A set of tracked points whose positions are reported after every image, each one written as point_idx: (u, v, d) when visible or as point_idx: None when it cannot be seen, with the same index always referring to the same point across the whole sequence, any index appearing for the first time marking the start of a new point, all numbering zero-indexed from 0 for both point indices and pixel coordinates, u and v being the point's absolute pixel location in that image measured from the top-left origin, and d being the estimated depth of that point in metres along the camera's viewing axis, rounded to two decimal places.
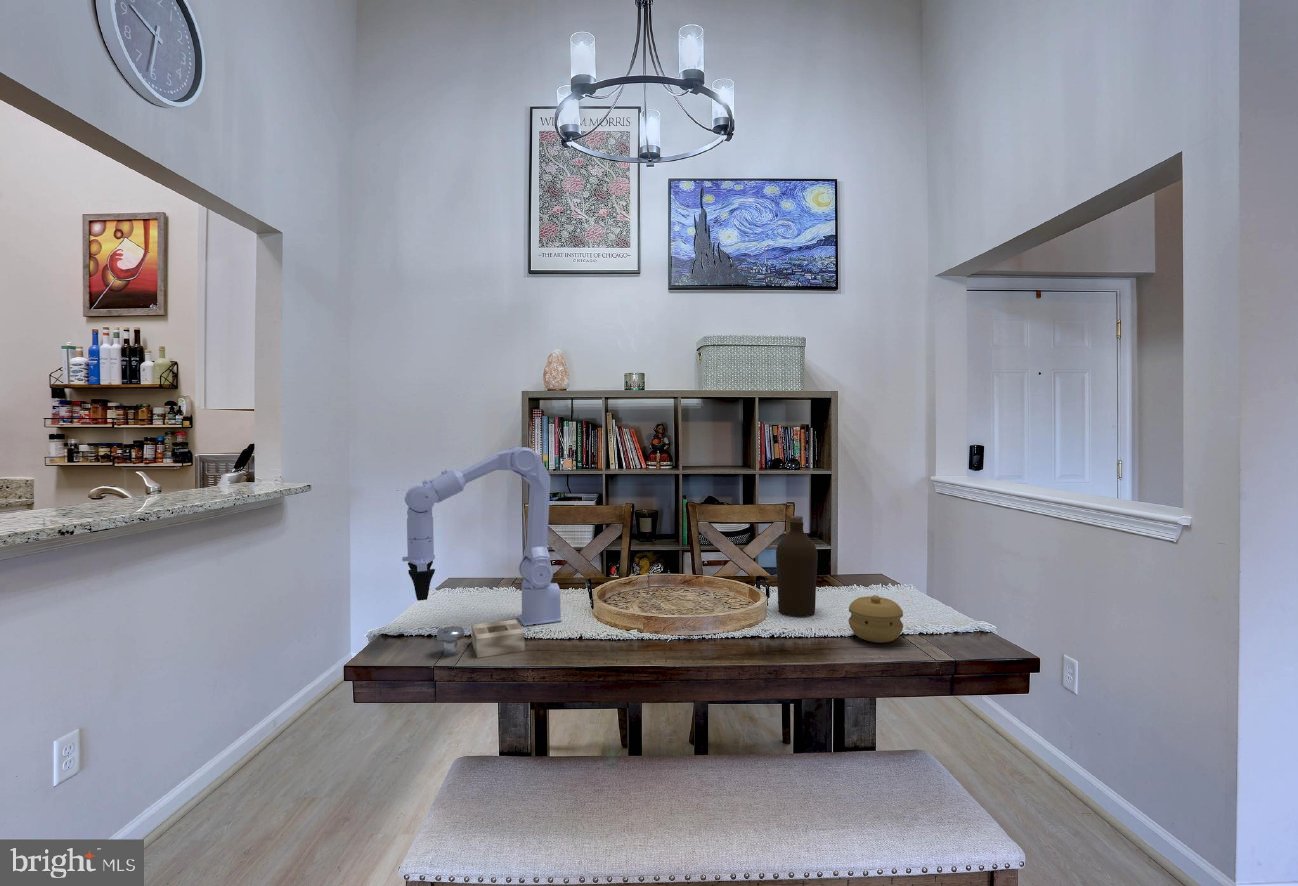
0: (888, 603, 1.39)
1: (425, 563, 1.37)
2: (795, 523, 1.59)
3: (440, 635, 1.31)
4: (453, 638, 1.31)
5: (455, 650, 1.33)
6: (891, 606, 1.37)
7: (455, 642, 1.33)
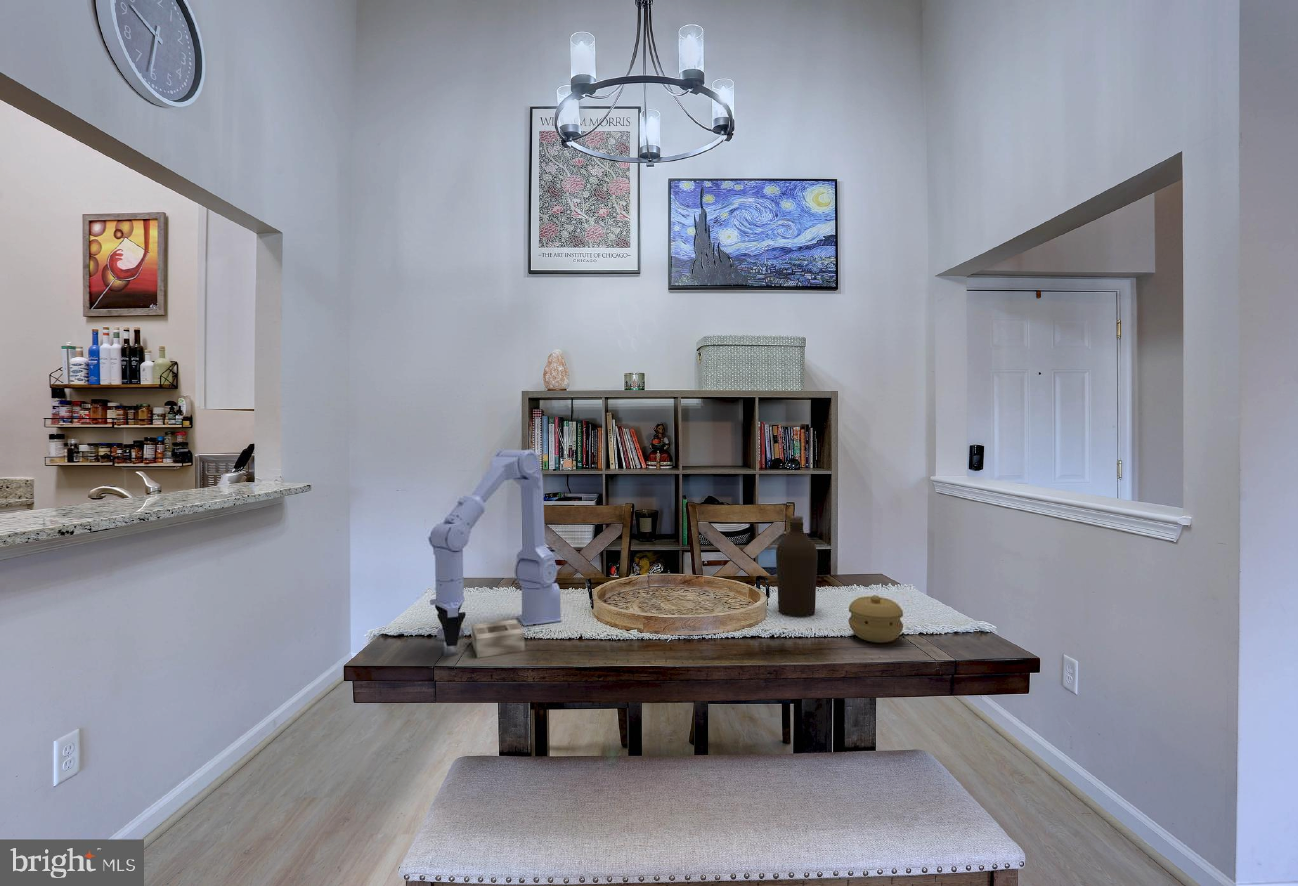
0: (888, 603, 1.39)
1: (456, 608, 1.27)
2: (795, 523, 1.59)
3: (440, 635, 1.31)
4: None
5: (455, 650, 1.33)
6: (891, 606, 1.37)
7: None
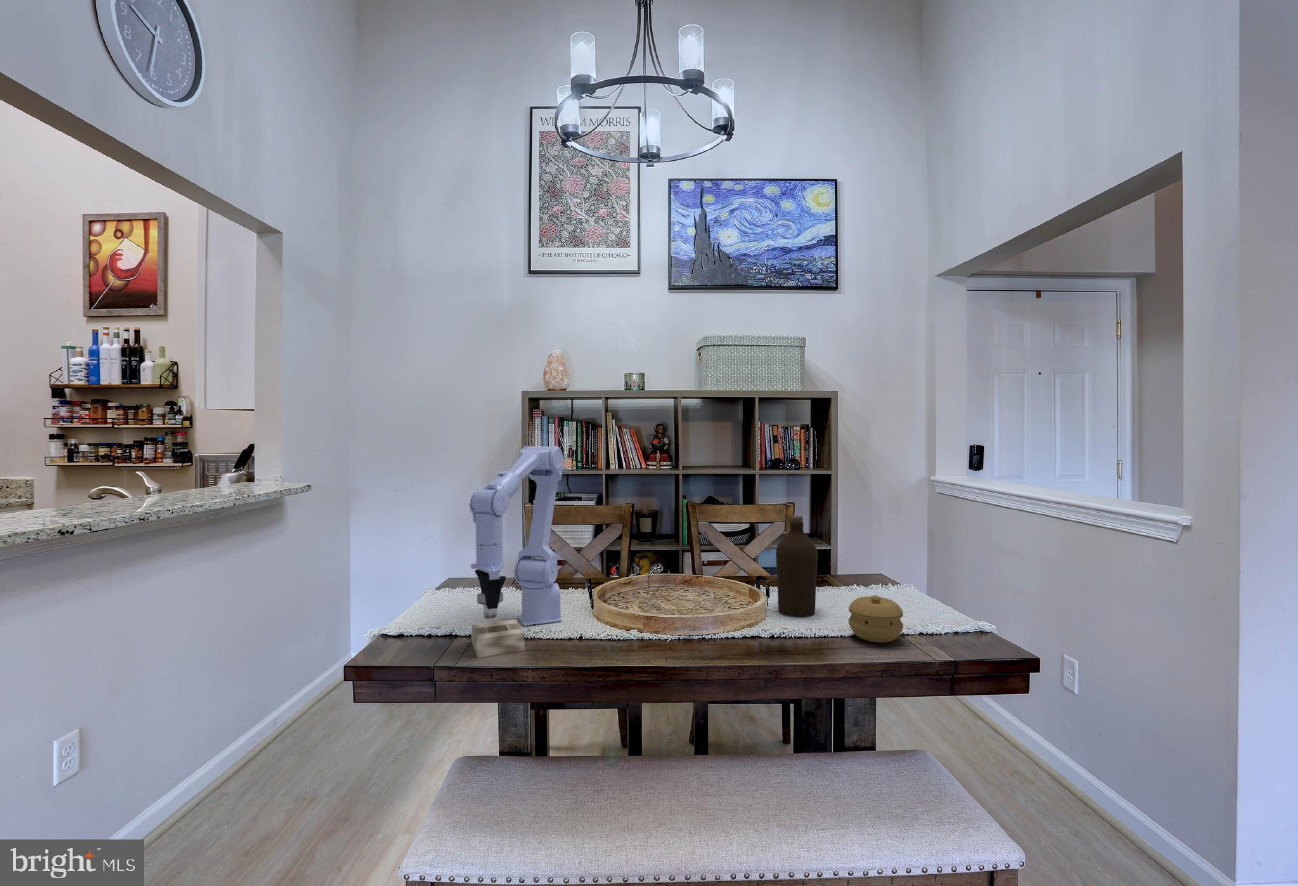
0: (888, 603, 1.39)
1: (498, 571, 1.30)
2: (795, 523, 1.59)
3: (481, 598, 1.34)
4: None
5: (495, 613, 1.36)
6: (891, 606, 1.37)
7: None
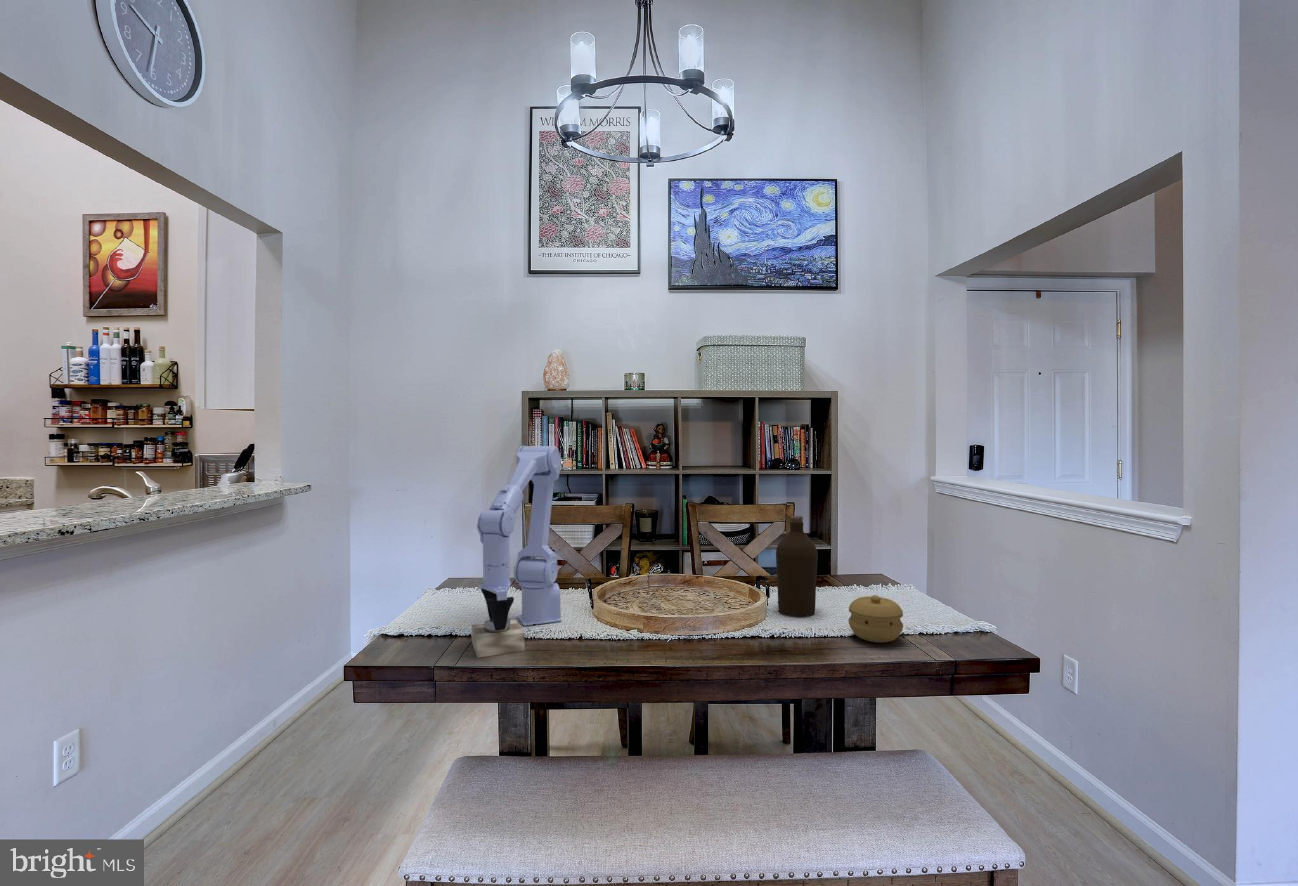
0: (888, 603, 1.40)
1: (505, 592, 1.31)
2: (795, 523, 1.59)
3: (488, 626, 1.35)
4: None
5: None
6: (891, 606, 1.37)
7: None
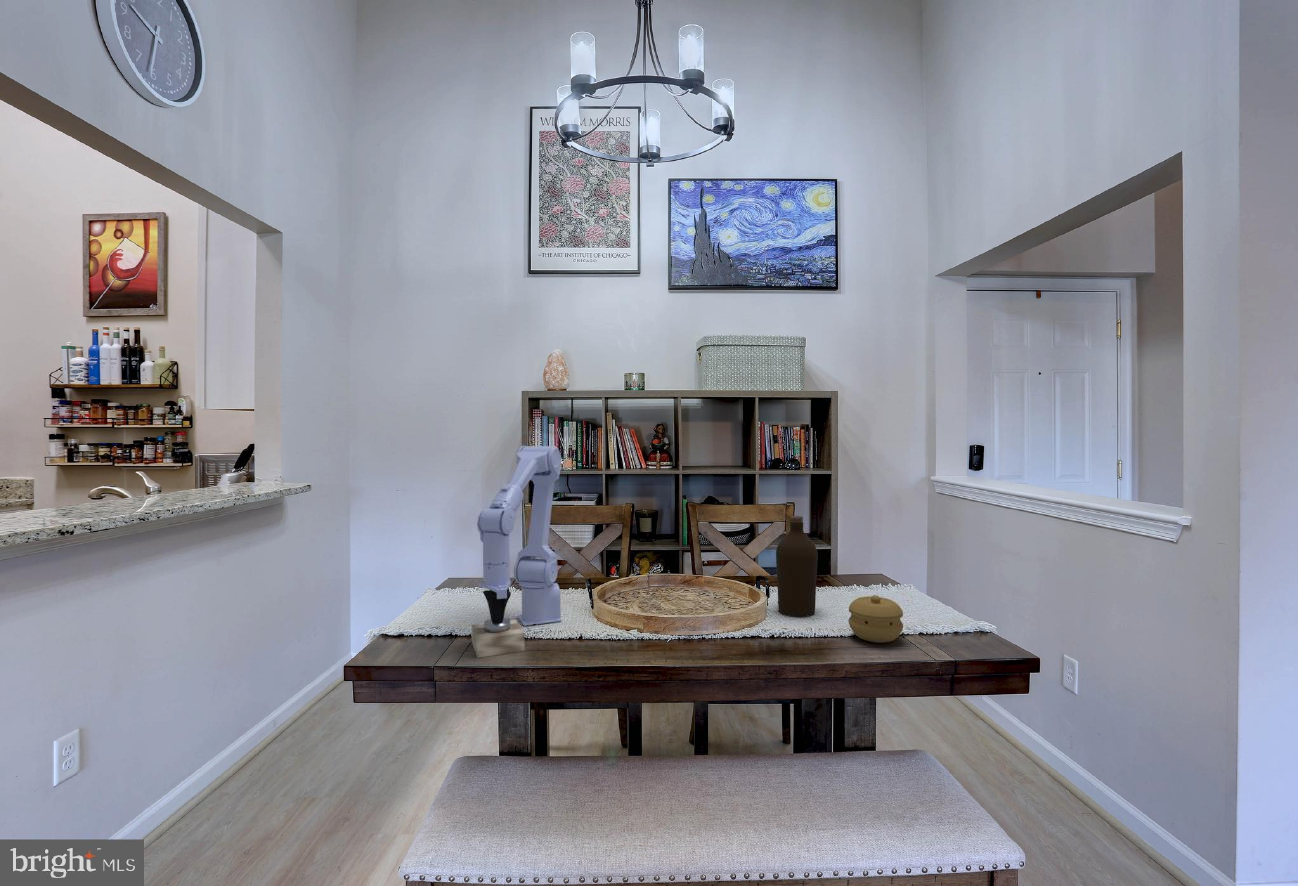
0: (888, 603, 1.39)
1: (505, 590, 1.31)
2: (795, 523, 1.59)
3: (488, 626, 1.35)
4: (500, 629, 1.35)
5: None
6: (891, 606, 1.37)
7: None
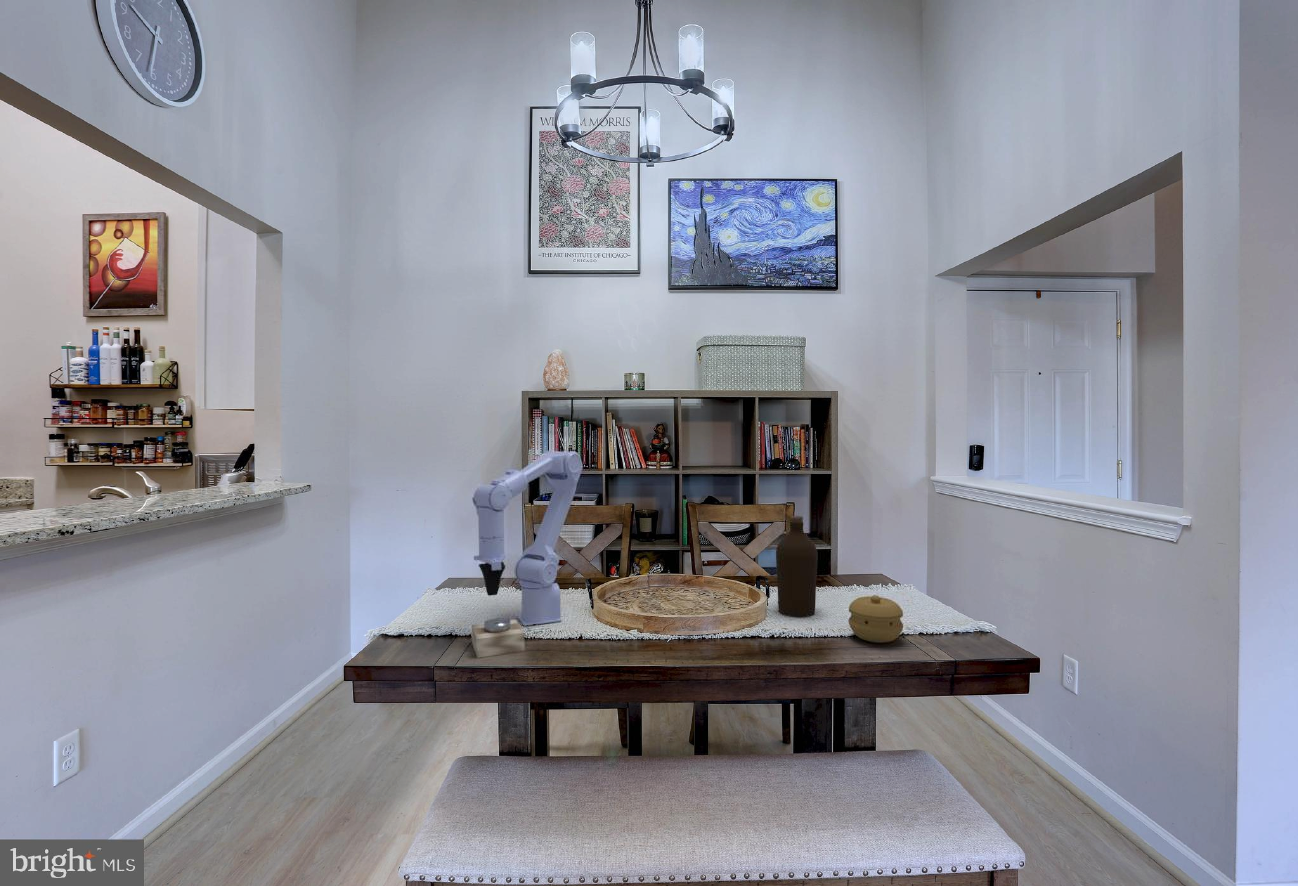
0: (888, 603, 1.40)
1: (499, 562, 1.37)
2: (795, 523, 1.59)
3: (488, 626, 1.35)
4: (500, 629, 1.35)
5: None
6: (891, 606, 1.37)
7: None
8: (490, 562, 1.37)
